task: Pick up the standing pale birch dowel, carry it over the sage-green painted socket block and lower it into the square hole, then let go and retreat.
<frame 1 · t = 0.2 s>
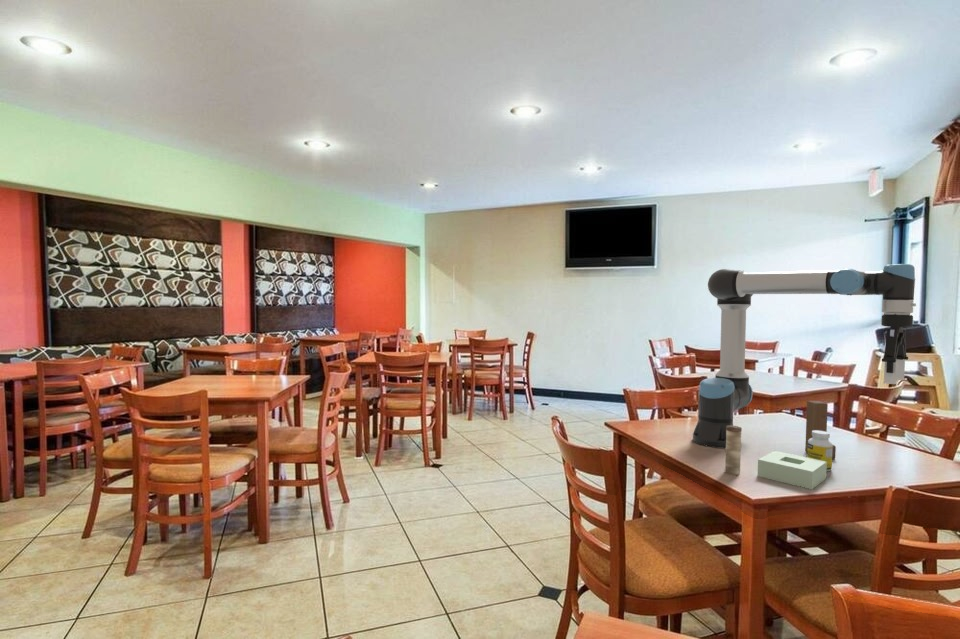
hand: (894, 381, 155), 28 cm above the table, fingers open, 13 cm apart
pill bottle: (819, 469, 156), on the table
dowel: (732, 472, 151), on the table
socket block: (791, 477, 148), on the table
wooden block: (819, 455, 170), on the table
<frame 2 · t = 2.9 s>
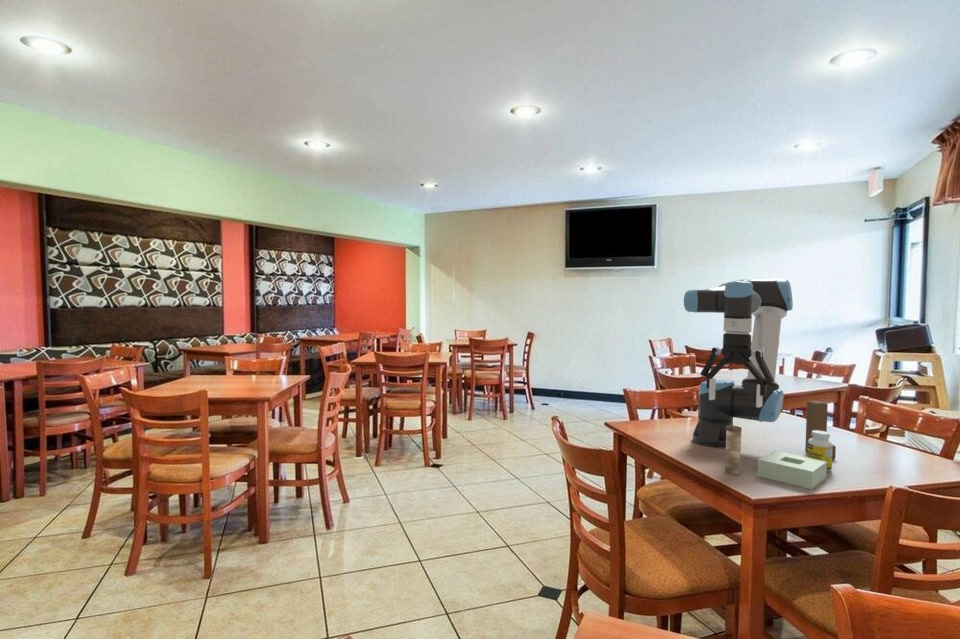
hand: (734, 403, 150), 21 cm above the table, fingers open, 13 cm apart
nothing on the table moved.
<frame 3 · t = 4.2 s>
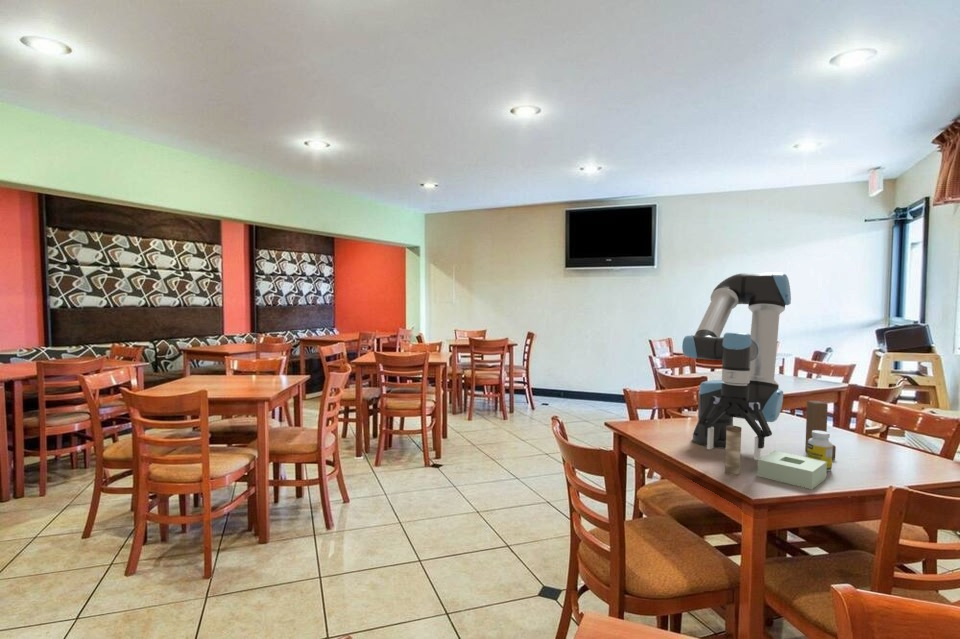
hand: (732, 453, 150), 6 cm above the table, fingers open, 13 cm apart
nothing on the table moved.
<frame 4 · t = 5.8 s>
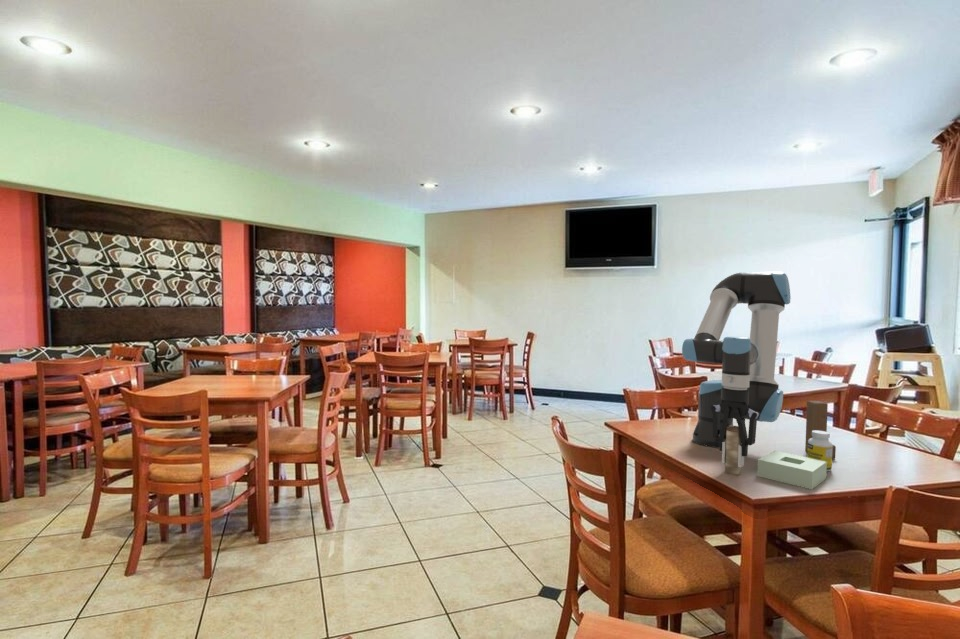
hand: (732, 464, 151), 3 cm above the table, fingers closed on dowel, 4 cm apart
dowel: (732, 472, 151), on the table, touching gripper
everything else where it was.
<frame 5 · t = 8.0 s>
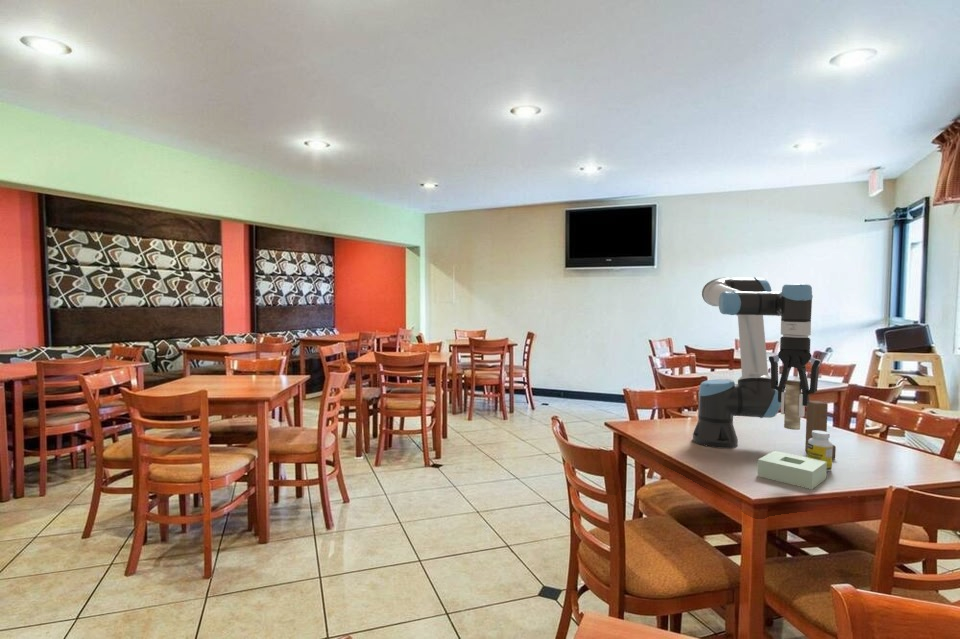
hand: (792, 414, 147), 19 cm above the table, fingers closed on dowel, 4 cm apart
dowel: (792, 428, 147), point 15 cm above the table, touching gripper
everything else where it was.
when the fingers open (6 cm above the table, at t = 10.4 s): dowel drops 1 cm, resting in socket block.
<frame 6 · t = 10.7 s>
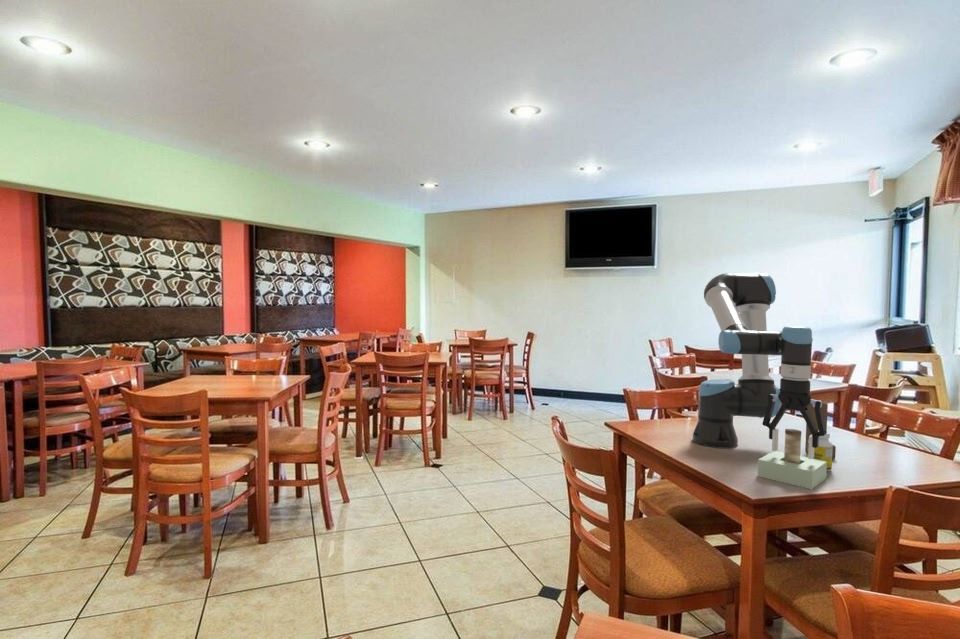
hand: (792, 454, 147), 7 cm above the table, fingers open, 9 cm apart
dowel: (791, 477, 148), resting in socket block
everything else where it was.
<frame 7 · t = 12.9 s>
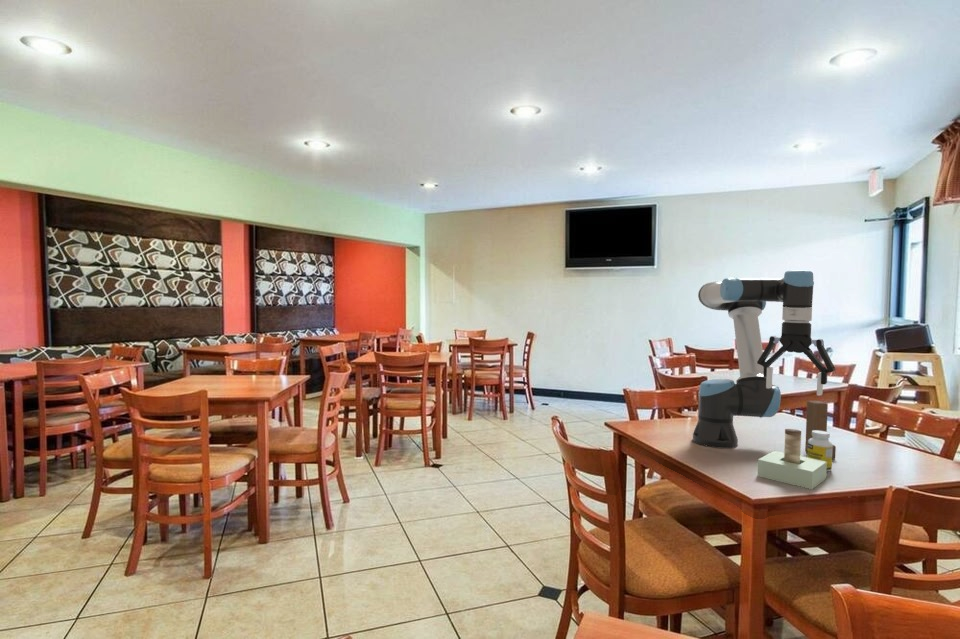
hand: (793, 391, 151), 25 cm above the table, fingers open, 13 cm apart
nothing on the table moved.
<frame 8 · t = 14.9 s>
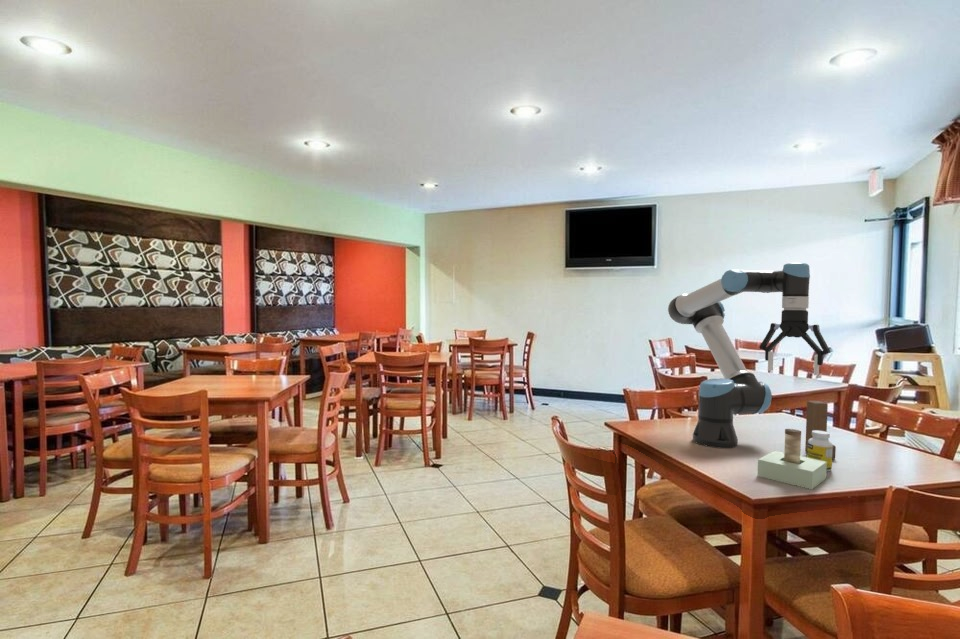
hand: (792, 372, 167), 29 cm above the table, fingers open, 13 cm apart
nothing on the table moved.
at the end: dowel 0.1 cm off-centre on the socket block, point 0.0 cm above the socket block's base; dowel tilted 0°; the gripper is holding nothing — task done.
